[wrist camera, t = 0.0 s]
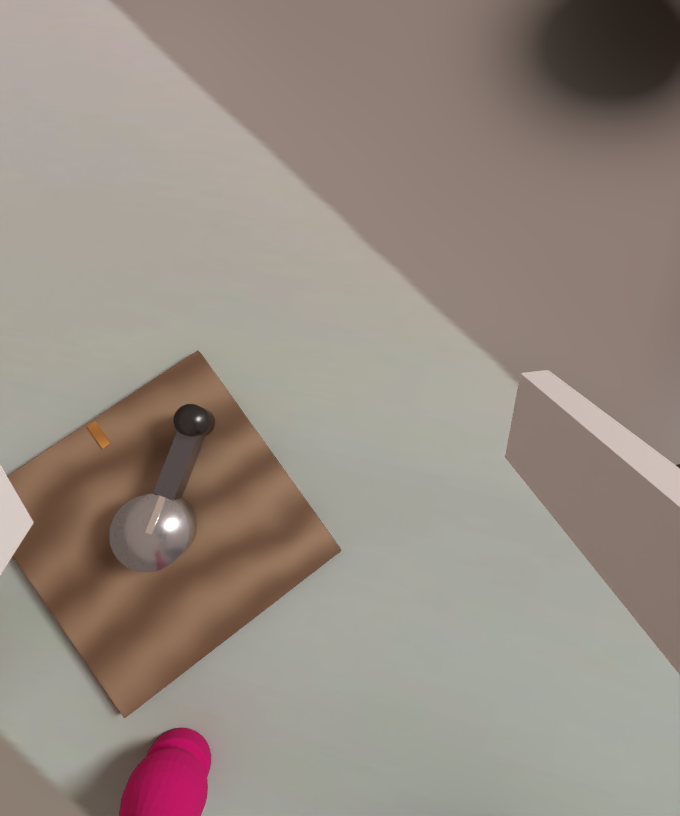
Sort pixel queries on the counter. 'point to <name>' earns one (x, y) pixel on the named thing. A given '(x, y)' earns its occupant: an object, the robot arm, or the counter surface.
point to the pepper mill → (170, 777)
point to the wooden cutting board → (196, 568)
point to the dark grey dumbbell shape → (163, 502)
